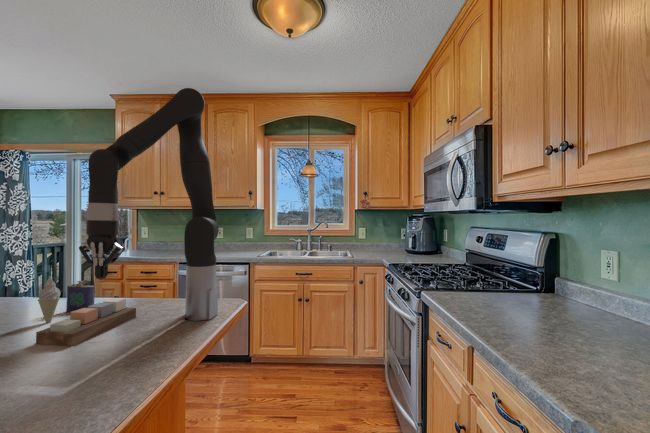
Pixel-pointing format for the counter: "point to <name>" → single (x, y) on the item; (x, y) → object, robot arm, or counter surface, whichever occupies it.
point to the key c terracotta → (85, 315)
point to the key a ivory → (117, 303)
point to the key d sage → (65, 325)
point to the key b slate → (103, 309)
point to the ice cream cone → (49, 299)
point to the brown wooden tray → (86, 329)
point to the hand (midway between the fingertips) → (101, 278)
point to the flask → (79, 296)
